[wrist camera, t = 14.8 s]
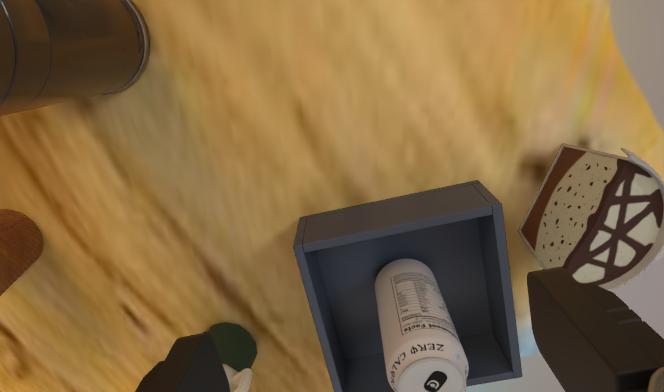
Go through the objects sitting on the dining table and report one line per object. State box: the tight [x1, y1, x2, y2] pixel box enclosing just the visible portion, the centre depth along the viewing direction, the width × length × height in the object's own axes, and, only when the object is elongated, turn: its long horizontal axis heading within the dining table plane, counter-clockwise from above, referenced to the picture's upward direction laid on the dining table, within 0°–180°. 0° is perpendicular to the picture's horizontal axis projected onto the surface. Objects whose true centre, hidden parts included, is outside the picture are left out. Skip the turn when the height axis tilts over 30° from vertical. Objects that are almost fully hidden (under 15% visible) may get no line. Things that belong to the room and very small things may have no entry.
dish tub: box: [293, 180, 522, 392], centre depth 44 cm, size 18×18×7 cm
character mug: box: [204, 323, 257, 392], centre depth 44 cm, size 11×7×13 cm, turn 130°
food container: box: [518, 144, 664, 291], centre depth 39 cm, size 12×6×10 cm, turn 161°
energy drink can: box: [375, 259, 469, 392], centre depth 39 cm, size 6×6×15 cm
